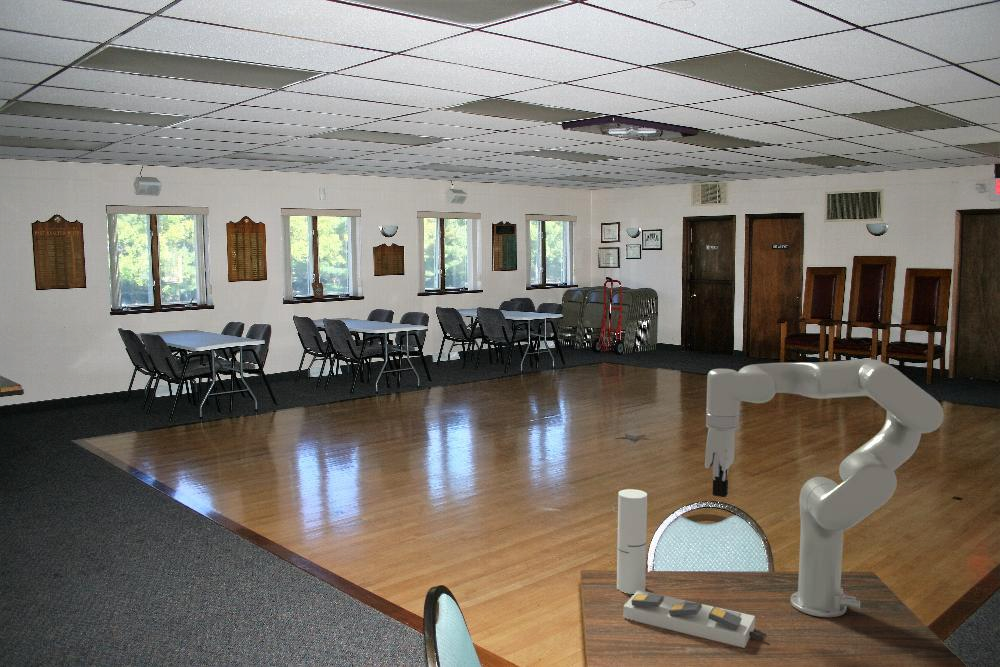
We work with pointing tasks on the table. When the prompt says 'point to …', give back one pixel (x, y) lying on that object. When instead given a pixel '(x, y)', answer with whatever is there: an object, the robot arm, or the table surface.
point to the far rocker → (647, 600)
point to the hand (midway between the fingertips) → (720, 495)
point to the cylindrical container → (631, 540)
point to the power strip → (692, 621)
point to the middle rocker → (685, 609)
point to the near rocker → (725, 618)
